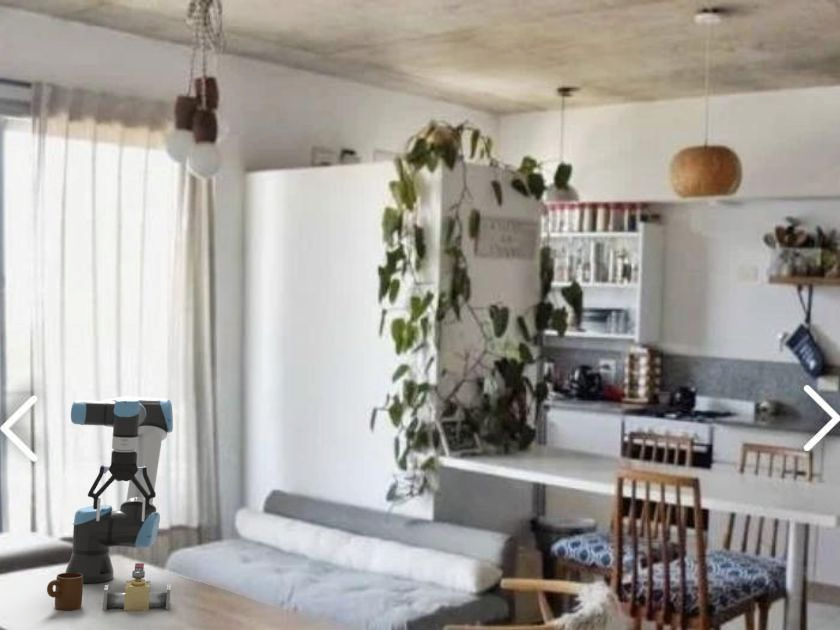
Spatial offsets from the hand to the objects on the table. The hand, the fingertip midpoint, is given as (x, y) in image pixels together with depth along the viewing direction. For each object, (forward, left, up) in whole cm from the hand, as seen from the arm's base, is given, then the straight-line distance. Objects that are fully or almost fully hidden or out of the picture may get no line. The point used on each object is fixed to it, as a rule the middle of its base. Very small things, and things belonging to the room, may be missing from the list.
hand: (120, 520), depth 317 cm
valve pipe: (+8, +6, -24) cm, 26 cm away
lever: (+3, +6, -15) cm, 17 cm away
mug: (+9, -15, -25) cm, 30 cm away
